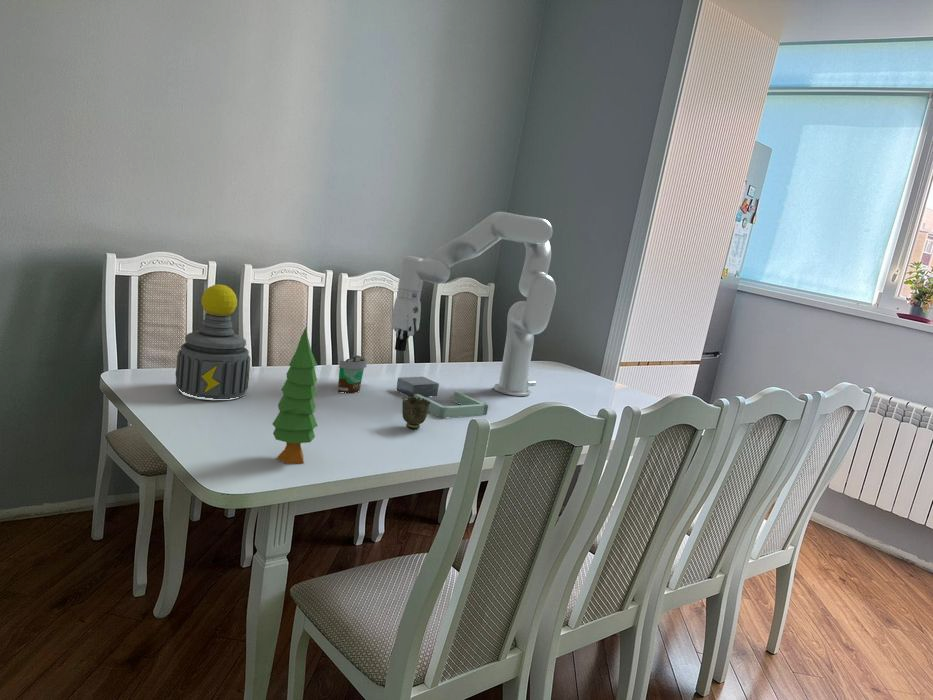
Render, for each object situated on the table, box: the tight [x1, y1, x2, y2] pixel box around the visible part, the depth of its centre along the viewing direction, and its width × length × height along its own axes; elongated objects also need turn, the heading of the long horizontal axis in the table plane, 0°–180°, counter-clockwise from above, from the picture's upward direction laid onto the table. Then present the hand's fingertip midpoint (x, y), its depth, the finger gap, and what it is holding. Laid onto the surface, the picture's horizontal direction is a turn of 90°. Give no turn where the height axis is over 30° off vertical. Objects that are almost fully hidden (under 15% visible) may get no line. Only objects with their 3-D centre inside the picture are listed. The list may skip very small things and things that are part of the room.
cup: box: [401, 396, 430, 431], centre depth 196 cm, size 8×7×8 cm
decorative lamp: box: [175, 284, 251, 399], centre depth 199 cm, size 19×19×30 cm
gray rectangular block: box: [396, 376, 440, 398], centre depth 234 cm, size 10×8×4 cm
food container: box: [337, 354, 367, 394], centre depth 225 cm, size 12×6×10 cm, turn 168°
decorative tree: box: [272, 326, 318, 465], centre depth 160 cm, size 10×9×30 cm
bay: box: [414, 391, 489, 419], centre depth 221 cm, size 17×14×3 cm
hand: (400, 350), depth 240 cm, fingers closed
